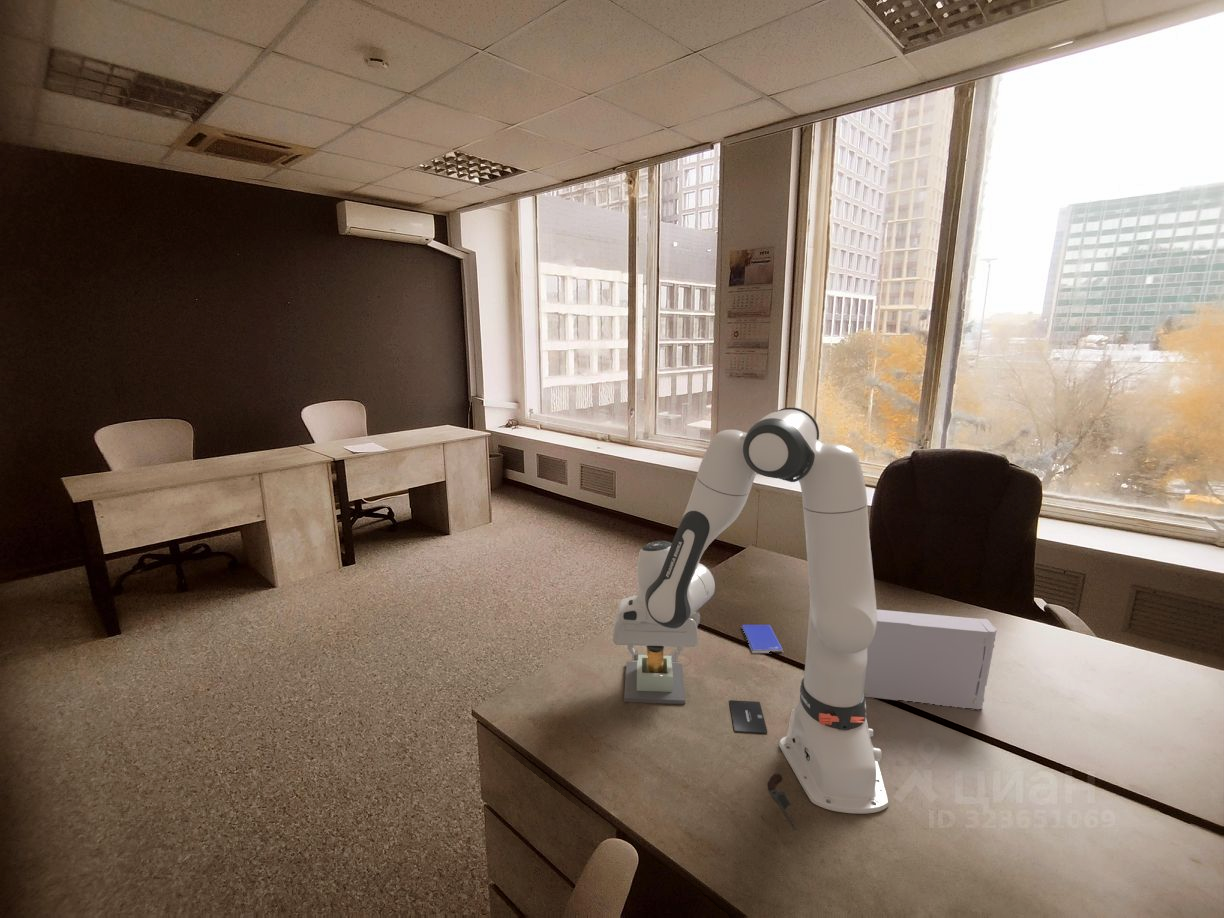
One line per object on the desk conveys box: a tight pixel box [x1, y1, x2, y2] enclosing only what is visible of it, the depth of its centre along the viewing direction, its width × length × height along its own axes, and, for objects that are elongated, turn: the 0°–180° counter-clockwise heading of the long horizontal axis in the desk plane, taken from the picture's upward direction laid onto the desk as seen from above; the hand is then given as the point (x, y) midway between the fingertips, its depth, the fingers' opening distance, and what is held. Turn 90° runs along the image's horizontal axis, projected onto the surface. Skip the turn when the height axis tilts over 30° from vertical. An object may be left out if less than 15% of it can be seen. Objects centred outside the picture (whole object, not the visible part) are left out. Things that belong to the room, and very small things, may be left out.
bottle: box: [646, 646, 665, 673], centre depth 131 cm, size 4×4×10 cm
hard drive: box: [741, 624, 784, 654], centre depth 151 cm, size 2×8×12 cm
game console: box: [864, 609, 997, 710], centre depth 125 cm, size 6×27×20 cm, turn 78°
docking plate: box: [624, 654, 686, 705], centre depth 132 cm, size 14×14×5 cm
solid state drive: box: [728, 699, 768, 735], centre depth 121 cm, size 7×10×1 cm
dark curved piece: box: [767, 773, 797, 831], centre depth 99 cm, size 14×4×1 cm, turn 13°
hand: (654, 659), depth 131 cm, fingers open, 8 cm apart
